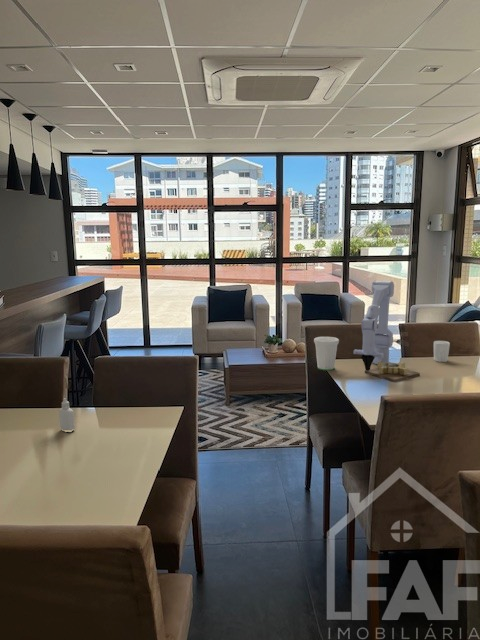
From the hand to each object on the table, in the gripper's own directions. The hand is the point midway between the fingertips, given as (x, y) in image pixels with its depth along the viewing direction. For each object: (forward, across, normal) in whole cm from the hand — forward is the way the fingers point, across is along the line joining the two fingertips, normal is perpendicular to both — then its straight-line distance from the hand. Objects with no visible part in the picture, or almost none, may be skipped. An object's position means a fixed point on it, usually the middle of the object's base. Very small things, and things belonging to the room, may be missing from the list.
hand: (367, 370), depth 221 cm
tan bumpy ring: (0, +10, +7) cm, 12 cm away
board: (+2, +10, +7) cm, 12 cm away
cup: (+2, -21, -2) cm, 22 cm away
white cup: (+2, +22, +46) cm, 51 cm away
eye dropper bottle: (+2, -59, -125) cm, 138 cm away
